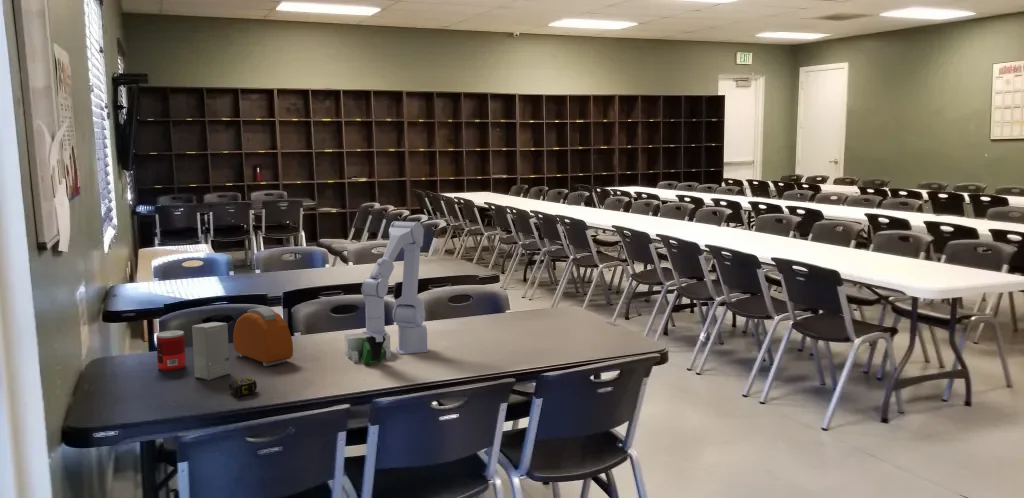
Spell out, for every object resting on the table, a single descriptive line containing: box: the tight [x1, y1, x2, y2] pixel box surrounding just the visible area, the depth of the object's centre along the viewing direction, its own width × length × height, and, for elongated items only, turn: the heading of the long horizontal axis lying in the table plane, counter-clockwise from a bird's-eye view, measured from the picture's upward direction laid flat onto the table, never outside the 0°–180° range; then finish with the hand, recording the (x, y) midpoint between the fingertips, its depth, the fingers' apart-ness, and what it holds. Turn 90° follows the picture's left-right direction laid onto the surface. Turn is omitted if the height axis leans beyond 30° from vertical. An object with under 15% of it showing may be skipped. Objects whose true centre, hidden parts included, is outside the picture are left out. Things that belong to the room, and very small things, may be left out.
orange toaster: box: [232, 307, 294, 367], centre depth 244 cm, size 23×9×17 cm, turn 47°
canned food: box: [155, 329, 187, 372], centre depth 234 cm, size 8×8×11 cm
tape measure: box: [228, 377, 258, 397], centre depth 210 cm, size 7×7×4 cm
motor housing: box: [344, 330, 392, 364], centre depth 248 cm, size 14×12×7 cm
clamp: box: [360, 341, 384, 366], centre depth 242 cm, size 11×6×8 cm, turn 11°
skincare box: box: [191, 321, 231, 381], centre depth 226 cm, size 8×7×16 cm
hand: (375, 359), depth 236 cm, fingers closed
